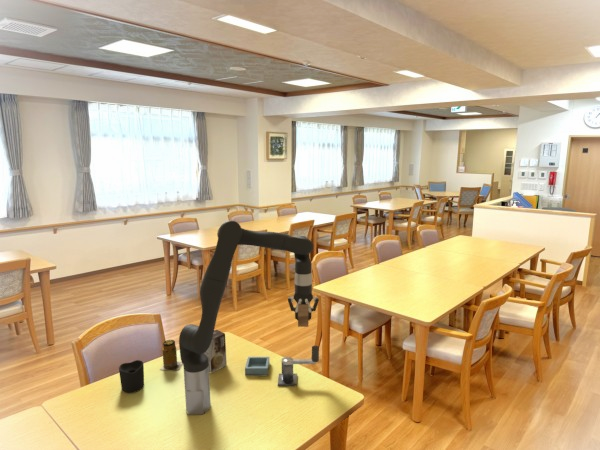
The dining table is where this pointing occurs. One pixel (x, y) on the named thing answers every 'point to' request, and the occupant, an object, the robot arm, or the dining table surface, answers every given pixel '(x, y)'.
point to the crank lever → (290, 361)
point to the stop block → (302, 315)
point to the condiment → (170, 356)
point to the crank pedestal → (287, 377)
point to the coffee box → (217, 352)
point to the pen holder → (132, 376)
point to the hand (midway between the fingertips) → (303, 319)
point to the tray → (257, 366)
